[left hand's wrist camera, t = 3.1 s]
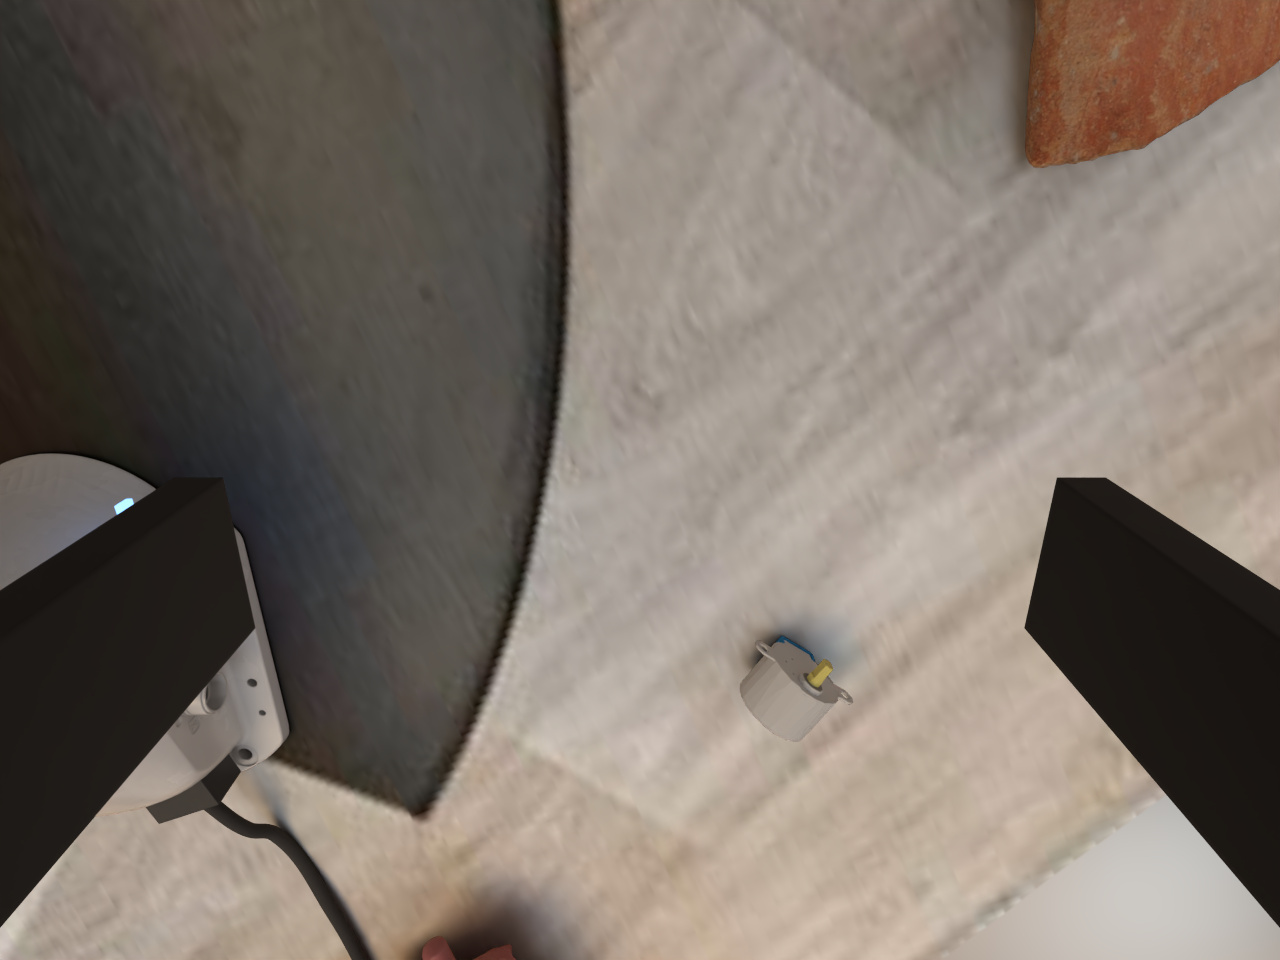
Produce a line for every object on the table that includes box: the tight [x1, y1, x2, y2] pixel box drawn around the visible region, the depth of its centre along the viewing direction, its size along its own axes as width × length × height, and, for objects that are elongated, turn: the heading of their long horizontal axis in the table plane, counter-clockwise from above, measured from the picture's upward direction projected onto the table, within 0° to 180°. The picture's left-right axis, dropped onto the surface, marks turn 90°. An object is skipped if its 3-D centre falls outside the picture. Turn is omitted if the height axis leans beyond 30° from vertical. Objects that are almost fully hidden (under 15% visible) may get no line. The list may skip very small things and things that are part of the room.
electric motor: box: [740, 636, 853, 742], centre depth 44 cm, size 7×5×5 cm
